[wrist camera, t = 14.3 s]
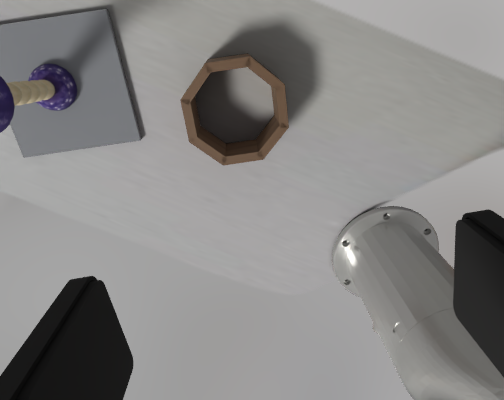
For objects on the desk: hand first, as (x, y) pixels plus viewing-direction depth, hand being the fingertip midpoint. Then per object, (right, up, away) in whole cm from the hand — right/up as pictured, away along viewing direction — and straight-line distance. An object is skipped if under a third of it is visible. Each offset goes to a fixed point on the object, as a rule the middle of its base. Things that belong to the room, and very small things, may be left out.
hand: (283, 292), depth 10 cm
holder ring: (-3, +12, +28) cm, 31 cm away
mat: (-19, +13, +27) cm, 35 cm away
